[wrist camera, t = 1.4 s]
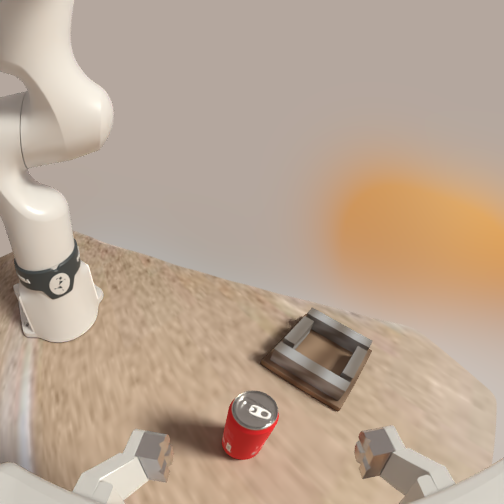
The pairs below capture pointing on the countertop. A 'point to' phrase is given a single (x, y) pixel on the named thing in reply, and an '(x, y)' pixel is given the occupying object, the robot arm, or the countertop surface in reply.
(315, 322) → the socket block
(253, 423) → the beverage can
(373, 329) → the countertop surface
